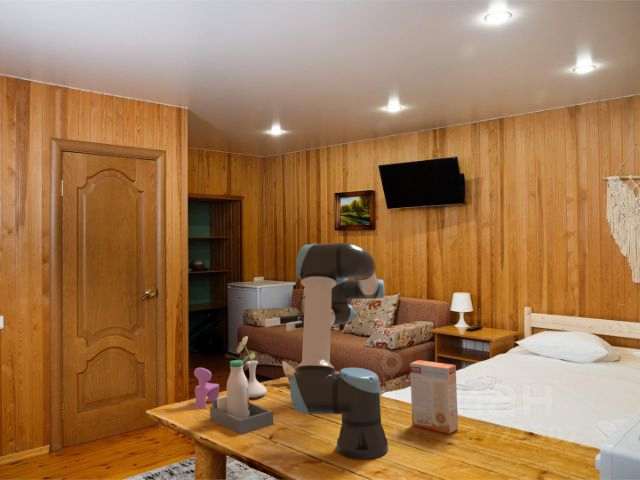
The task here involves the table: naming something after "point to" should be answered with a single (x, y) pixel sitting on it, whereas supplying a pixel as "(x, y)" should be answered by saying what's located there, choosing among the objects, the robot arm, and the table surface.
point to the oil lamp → (288, 370)
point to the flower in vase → (252, 373)
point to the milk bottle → (237, 391)
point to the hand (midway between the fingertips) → (275, 325)
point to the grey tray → (255, 421)
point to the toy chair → (204, 388)
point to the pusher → (222, 403)
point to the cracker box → (434, 396)
